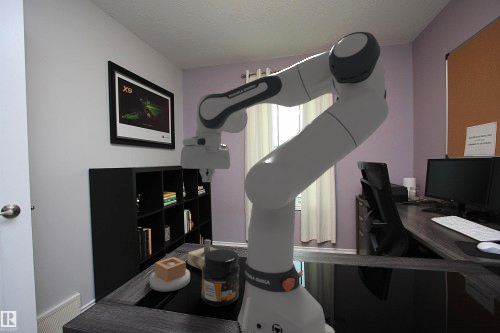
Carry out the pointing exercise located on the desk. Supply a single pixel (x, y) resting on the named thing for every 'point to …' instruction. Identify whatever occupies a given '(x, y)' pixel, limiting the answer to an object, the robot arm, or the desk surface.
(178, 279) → the hub
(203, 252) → the stand
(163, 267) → the orange square hollow block
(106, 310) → the desk surface
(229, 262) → the supplement container
